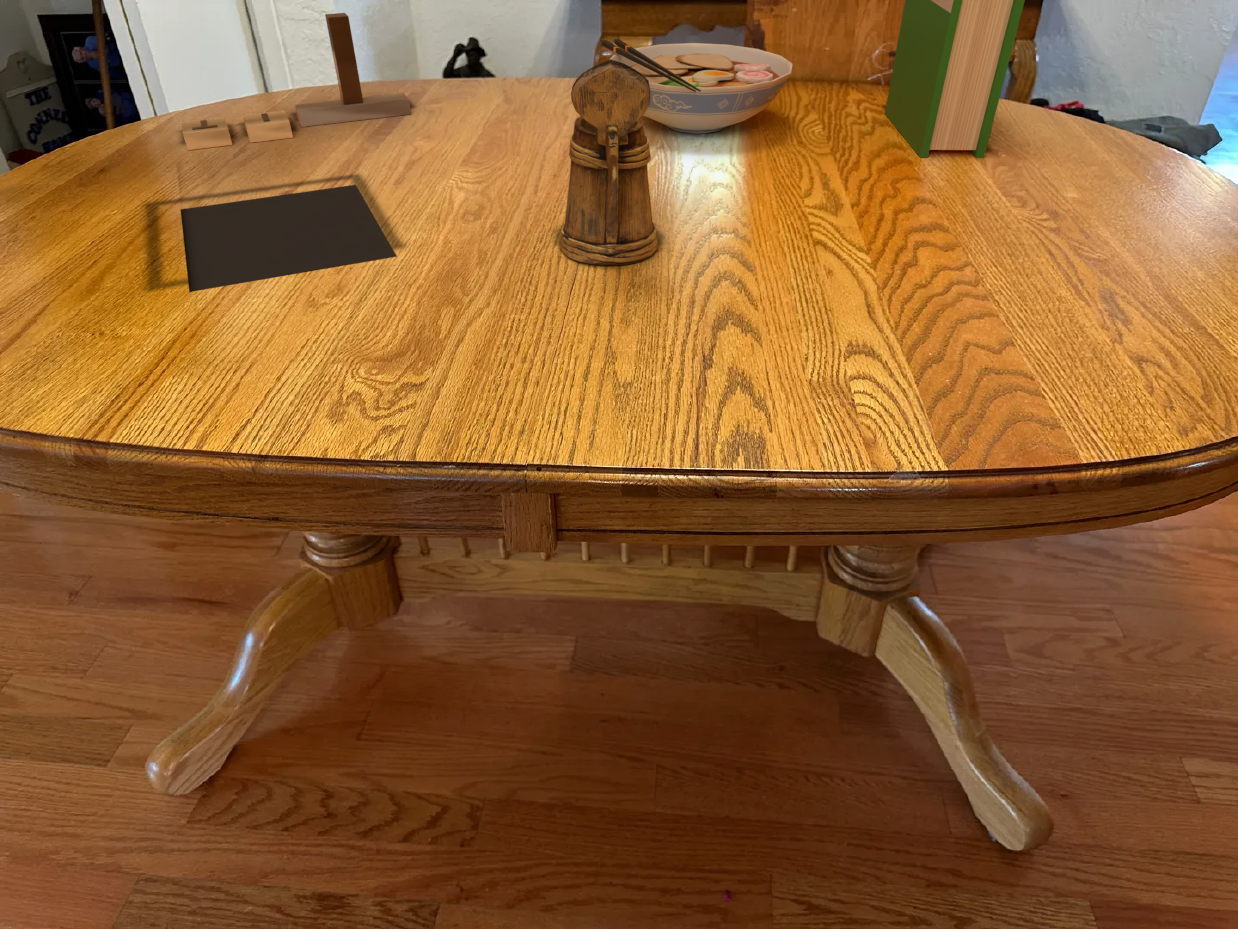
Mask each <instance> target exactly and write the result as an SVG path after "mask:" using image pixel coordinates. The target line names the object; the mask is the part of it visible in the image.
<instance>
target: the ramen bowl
mask: <svg viewBox="0 0 1238 929" xmlns="http://www.w3.org/2000/svg"><path fill="white" fill-rule="evenodd" d="M600 44H601V45H600V46H601V47H603V48H606V49H608V50H609V51H612V52H614V53H615V54H613V55H612V56H611V57H610V58H609V59H608V60H610V59H611V60H615V61H618V62H621V63H624V64H626V65H628V66H630V67H631V68H633V69H635V70H636V71H638V72H639V73H641V74H642V75H643V76H644V77H645V78H646V79H647V80H648V81H649V86H650V103H649V107H648V109H647V110H646V112H645V113H644V114H643V115H642V116H643V117H646V118H648V119H650V120H653V121H655V122H658V123H660V124H662V125H665V126H666V127H667V128H669V129H671V130H674V131H675V132H680V133H685V134H694V135H695V134H696V135H699V134H700V135H701V134H710V133H717V132H720V131H721V130H723V129H725V128H727V127H729V126H733V125H736V124H738V123H742V122H744V121H746V120H748V119H750V118H753V117H754V116H756V115H757V114H759V113H760V112H762V111H763V110H765V109H766V108H767V107H768V106H769V105H770V104H771V103H772V102H773V101H774V100H775V99H776V97H777V96H778V95H779V93H780V92H781V91H782V89H783V88H784V86H785V85H786V84H787V81H788V80H789V77H790V76H791V74H792V70H793V64H794V63H792V62H791V61H789V60H788V59H786V58H785V57H783V56H782V55H780V54H777V53H773V52H769V51H766V50H763V49H760V48H754V47H748V46H747V47H746V46H740V45H734V44H733V45H732V44H723V43H703V42H702V43H701V42H688V43H687V42H685V43H661V44H654V45H648V46H641V47H633V46H630V45H629V44H628V43H626V42H624V41H623V40H621V39H620V38H614V39H613V43H612V42H610V41H608V40H607V39H602V40H601V41H600Z"/></svg>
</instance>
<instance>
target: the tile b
mask: <svg viewBox="0 0 1238 929" xmlns="http://www.w3.org/2000/svg"><path fill="white" fill-rule="evenodd" d="M242 119H243V124H244V128H245V131H246V135H247V137H248V140H249V143H250V144H251V143H260V142H268V141H269V142H270V141H276V140H285V139H293V138H294V135H293V132H292V126H291V121H290V119H289V117H288V115H287V113H286V111H285V110H283V109H282V110H275V111H266V112H265V111H264V112H257V113H246V114H242Z"/></svg>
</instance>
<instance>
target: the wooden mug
mask: <svg viewBox="0 0 1238 929" xmlns="http://www.w3.org/2000/svg"><path fill="white" fill-rule="evenodd" d="M609 59H610V58H609ZM609 59H608V60H605V61H603V62H601V63H598V64H596V65H595V66H592V67H591V68H588V69H587V70H585V71H584V72H582V73H581V74H580V76H578V77H577V78H576V79H575V81H574V83H573V84H572V87H571V91H570V99H571V103H572V106H573V108H574V110H575V112H576V114H578V115H579V116H578V117H577V118H576V119H575V120H574V126H573V134H571V136H570V141H569V151H568V156H569V159H570V169H569V179H568V180H569V181H568V190H567V197H566V208H565V216H564V217H565V218H564V223H563V224H562V227H561V230H560V241H559V242H560V243H559V245H560V251H561V252H562V253H563V254H564V255H565V256H567V258H569V259H571V260H573V261H576V262H578V263H581V264H585V265H591V266H601V267H609V266H617V267H620V266H627V265H632V264H635V263H639V262H641V261H642V262H643V261H644V260H645V261H646V260H647V259H649V258H651V256H652V255H653V254H654V253H655V252H656V251H657V250H658V236H657V227H656V225H655V223H654V220H653V213H652V212H653V211H652V203H651V195H650V194H651V193H650V185H649V184H650V183H649V175H648V174H649V172H648V164H649V163H650V162H651V159H652V156H651V155H652V154H651V148H650V147H651V146H650V141H649V139H648V137H647V135H646V132H645V127H644V120H643V119H642V118H641V117H642V116H643V114H644V113H645V112H646V110H647V109H648V107H649V103H650V86H649V81H648V80H647V79H646V78H645V77H644V76H643V75H642V74H641V73H639V72H638V71H636V70H635V69H633V68H631V67H630V66H628V65H626V64H624V63H621V62H618V61H615V60H611V59H610V60H609Z"/></svg>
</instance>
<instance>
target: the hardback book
mask: <svg viewBox="0 0 1238 929" xmlns="http://www.w3.org/2000/svg"><path fill="white" fill-rule="evenodd" d="M1025 1H1026V0H904V5H903V6H904V7H903V11H902V16H901V22H900V27H899V32H898V38H897V44H896V50H895V54H894V60H893V67H892V70H891V71H892V72H891V77H890V82H889V88H888V92H887V93H888V94H887V99H886V104H885V110H884V115H885V116H886V118H887V119H888V120H889V121H890V122H891V124H892V125H893V126H894V127H895V128H896V130H897V131H898V132H899V134H900V135H901V136H902V138H904V140H905V141H906V143H907V144H908V145H909V146H910V147H911V148H912V150H913V151H914V153H915V154H916V155H917V156H918V157H919V158H929V154H930V151H969V152H970V153H971V154H972V155H973V156H974V158H976V159H984V158H985V155H986V151H987V148H988V144H989V141H990V140H989V139H990V137H991V133H992V129H993V125H994V121H995V117H996V113H997V109H998V106H999V102H1000V97H1001V94H1002V90H1003V86H1004V82H1005V78H1006V75H1007V71H1008V67H1009V63H1010V59H1011V55H1012V52H1013V47H1014V44H1015V40H1016V36H1017V32H1018V29H1019V24H1020V20H1021V18H1022V13H1023V9H1024V5H1025Z"/></svg>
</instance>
